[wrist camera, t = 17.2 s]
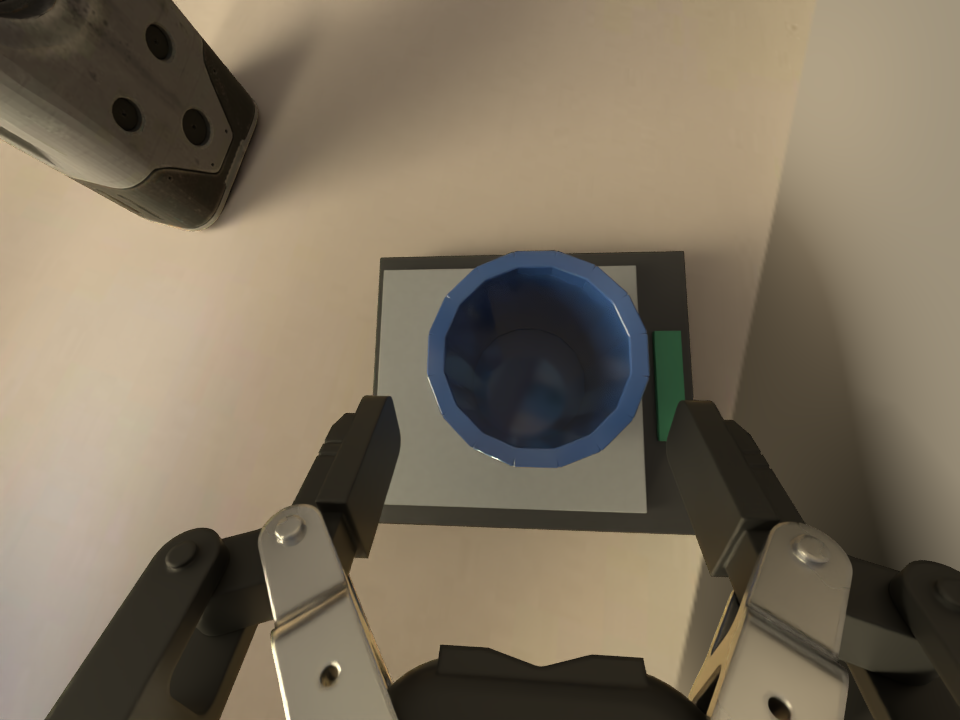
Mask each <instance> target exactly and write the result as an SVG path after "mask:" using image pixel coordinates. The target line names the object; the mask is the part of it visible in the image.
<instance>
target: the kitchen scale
mask: <svg viewBox="0 0 960 720" xmlns="http://www.w3.org/2000/svg"><path fill="white" fill-rule="evenodd" d="M568 255H570V256H573V257H576V258H579V259H581V260H584V261H587V262H590V263H592V264H595V265H596V266H598V267H599V268H600V269H601V270H603V271H604V272H605V273H606V274H607V275H608V276H609V277H610V278H612V279H613V280H614V281H615V282H616V283H617V284H618V285H619V286H621V287H622V288H623V289H624V290H625V291H626V292H627V293H628V295H629V296H630V297H631V299H632V302H633V304H634V306H635V308H636V310H637V312H638V314H639V316H640V318H641V320H642V322H643V324H644V326H645V328H646V330H647V333H646V334H648V347H649V368H650V376H649V381H648V384H647V386H646V389H645V391H644V394H643V397H642V399H641V402H640V404H639V407H638V410H637V412H636V415H635V417H634V418H633V420H632V422H631V423H630V424H629V425H628V426H627V427H626V428H625V429H624V430H623V431H622V432H621V433H620V434H619V435H618V436H617V437H616V438H615V439H614V440H613V441H612V442H611V443H610V444H609V445H608V446H607V447H606V448H605V449H604V450H601V451H600V452H599V453H597V454H594V455H592V456H589V457H587V458H584V459H581V460H579V461H576V462H574V463H571V464H569V465H566V466H564V467H558V468H523V467H514V466H509V465H507V464H505V463H503V462H500V461H498V460H496V459H494V458H491V457H489V456H487V455H485V454H483V453H480V452H478V451H476V450H474V449H473V447H472V448H471V447H470V446H469V445H468V444H467V443H466V442H465V441H464V440H463V439H462V438H461V437H460V436H459V435H458V433H457V432H456V431H455V430H454V429H453V428H452V427H451V426H450V425H449V424H448V423H447V422H446V421H445V420H444V418H443V417H442V416H443V415H441V413H440V411H439V408H438V405H437V403H436V400H435V397H434V395H433V392H432V389H431V387H430V384H429V381H428V378H427V376H428V375H427V350H428V335H429V331H430V328H431V326H432V324H433V322H434V320H435V317H436V315H437V313H438V311H439V308H440V306H441V304H442V302H443V300H444V298H445V297H446V295H447V294H448V293H449V292H450V291H451V290H452V289H453V288H454V287H455V286H456V285H457V284H458V283H459V282H460V281H461V280H462V279H463V278H465V277H466V276H467V275H468V274H469V273H470V272H471V271H472V270H473V269H474V268H476V267H477V266H480V265H482V264H484V263H487V262H489V261H492V260H494V259H497V258H499V257H501V256H504V255H481V256H435V257H389V258H381V259H380V276H379V294H378V312H377V330H376V349H375V367H374V385H373V396H391V397H392V399H393V403H394V407H395V412H396V416H397V420H398V425H399V429H400V434H401V447H400V453H399V456H398V460H397V463H396V466H395V470H394V473H393V476H392V480H391V483H390V486H389V490H388V493H387V496H386V500H385V503H384V506H383V510H382V513H381V516H380V520H379V523H388V524H414V525H440V526H466V527H493V528H519V529H545V530H572V531H598V532H624V533H650V534H677V535H695V532H694V530H693V527H692V524H691V522H690V519H689V516H688V514H687V511H686V508H685V506H684V503H683V500H682V498H681V495H680V492H679V489H678V487H677V484H676V481H675V479H674V476H673V473H672V471H671V468H670V465H669V463H668V459H667V454H666V441H667V437H668V434H669V431H670V427H671V424H672V421H673V418H674V414H675V411H676V408H677V405H678V403H679V402H680V401H681V400H693V385H692V369H691V354H690V338H689V322H688V307H687V291H686V275H685V260H684V251H666V252H619V253H573V254H568Z"/></svg>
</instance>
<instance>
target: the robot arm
mask: <svg viewBox="0 0 960 720" xmlns="http://www.w3.org/2000/svg"><path fill="white" fill-rule="evenodd" d="M400 447H401V434H400V429H399V425H398V420H397V416H396V412H395V407H394V403H393V399H392V397H391V396H364V397H363V398H362V400H361V402H360V404H359V406H358V408H357V410H356V413H345V414H344V415H343V416H342V417H341V418H340V419H339V420H338V421H337V422H336V423H335V424H334V425H333V426H332V427H331V429H330V431H329V433H328V435H327V437H326V439H325V444H323V445H322V447H321V449H320V451H319V456H317V457H316V459H315V461H314V463H313V465H312V467H311V469H310V471H309V473H308V475H307V477H306V479H305V481H304V483H303V485H302V487H301V489H300V491H299V493H298V495H297V497H296V499H295V501H294V502H293V504H292V505H291V506H289V507H287V508H284V509H282V510H281V511H279V512H277V513H276V514H275V515H273V516H272V517H271V518H270V519H269V520H268V521H267V522H266V524H265V525H264V527H263V528H261V529H258V530H255V531H251V532H247V533H243V534H239V535H235V536H231V537H228V538H224V539H221V538H220V537H219V535H218V534H217V533H216V532H215V531H214V530H212V529H209V528H196V529H192V530H189V531H186V532H184V533H182V534H179V535H178V536H176V537H174V538H173V539H171V540H170V541H169V542H167V543H166V544H165V545H164V546H163V547H162V548H161V549H160V550H159V551H158V552H157V553H156V555H155V556H154V557H153V559H152V560H151V562H150V563H149V565H148V566H147V568H146V569H145V571H144V572H143V574H142V575H141V577H140V578H139V580H138V581H137V583H136V584H135V586H134V587H133V589H132V590H131V592H130V593H129V595H128V596H127V597H126V599H125V600H124V602H123V603H122V605H121V606H120V608H119V609H118V611H117V612H116V614H115V615H114V617H113V618H112V620H111V621H110V623H109V624H108V626H107V627H106V629H105V630H104V632H103V633H102V635H101V636H100V638H99V639H98V641H97V642H96V644H95V645H94V647H93V648H92V650H91V651H90V653H89V654H88V656H87V657H86V659H85V660H84V662H83V663H82V665H81V666H80V668H79V669H78V671H77V672H76V674H75V675H74V677H73V678H72V680H71V681H70V682H69V684H68V685H67V687H66V688H65V690H64V691H63V693H62V694H61V696H60V697H59V699H58V700H57V702H56V703H55V705H54V706H53V708H52V709H51V711H50V712H49V714H48V715H47V717H46V718H45V720H219V719H220V717H221V714H222V712H223V709H224V707H225V705H226V702H227V700H228V697H229V695H230V692H231V690H232V687H233V685H234V682H235V680H236V677H237V675H238V672H239V670H240V668H241V665H242V663H243V660H244V658H245V655H246V653H247V650H248V648H249V645H250V643H251V640H252V638H253V635H254V633H255V631H256V628H257V626H258V624H260V623H263V622H266V621H270V620H273V619H274V622H275V629H273V630H272V631H271V645H272V651H273V656H274V661H275V666H276V671H277V675H278V680H279V685H280V690H281V695H282V700H283V705H284V710H285V715H286V720H844V714H845V706H846V700H847V693H848V685H849V677H848V672H847V670H846V668H845V667H843V666H842V665H840V664H839V661H838V659H840V660H843V661H845V662H846V663H847V665H848V667H849V669H850V671H851V673H852V675H853V677H854V680H855V682H856V684H857V686H858V688H859V690H860V692H861V694H862V696H863V698H864V700H865V702H866V704H867V706H868V708H869V710H870V712H871V714H872V716H873V718H874V720H960V572H959V571H957V570H955V569H953V568H951V567H948V566H946V565H943V564H940V563H936V562H932V561H925V560H924V561H923V560H919V561H913V562H911V563H909V564H908V565H907V566H906V567H905V568H904V569H903V570H902V571H897V570H894V569H891V568H887V567H884V566H881V565H877V564H874V563H871V562H868V561H864V560H861V559H858V558H855V557H852V556H849V555H847V554H846V553H845V552H844V550H843V549H842V548H841V547H840V546H839V545H838V544H837V543H836V542H835V541H834V540H833V539H831V538H830V537H829V536H828V535H826V534H824V533H823V532H821V531H820V530H818V529H816V528H814V527H811V526H809V525H806V524H805V523H804V521H803V519H802V518H801V516H800V514H799V513H798V511H797V509H796V508H795V506H794V505H793V503H792V501H791V500H790V498H789V497H788V495H787V493H786V492H785V490H784V488H783V487H782V485H781V484H780V482H779V480H778V479H777V477H776V475H775V474H774V472H773V471H772V469H769V464H768V463H767V461H766V459H765V458H764V456H763V455H761V454H760V452H761V451H760V450H759V448H758V446H757V445H756V443H755V442H754V440H753V438H752V437H751V435H750V434H749V433H747V432H746V431H745V430H744V429H743V428H742V427H741V426H739V425H738V424H737V423H736V422H735V421H733V420H724V419H723V418H722V416H721V414H720V412H719V411H718V409H717V407H716V405H715V404H714V403H713V402H712V401H699V400H681V401H680V402H679V403H678V405H677V408H676V411H675V414H674V418H673V421H672V424H671V427H670V431H669V434H668V437H667V441H666V454H667V459H668V463H669V465H670V468H671V471H672V473H673V476H674V479H675V481H676V484H677V487H678V489H679V492H680V495H681V498H682V500H683V503H684V506H685V508H686V511H687V514H688V516H689V519H690V522H691V524H692V527H693V530H694V532H695V535H696V538H697V540H698V543H699V546H700V549H701V551H702V554H703V557H704V559H705V562H706V565H707V567H708V570H709V573H710V575H711V576H714V577H729V579H730V581H731V584H732V587H733V591H732V592H731V594H730V596H729V599H728V602H727V604H726V607H725V610H724V612H723V615H722V617H721V620H720V623H719V625H718V628H717V630H716V633H715V636H714V638H713V641H712V643H711V646H710V649H709V652H708V654H707V656H706V659H705V661H704V664H703V666H702V668H701V670H700V672H699V674H698V676H697V678H696V680H695V682H694V684H693V686H692V688H691V691H690V693H689V695H688V698H686V697H685V696H684V695H683V694H682V693H680V692H679V691H677V690H676V689H674V688H673V687H671V686H670V685H668V684H667V683H665V682H663V681H661V680H659V679H657V678H655V677H653V676H651V675H648V674H646V670H645V665H644V660H643V658H636V657H620V656H605V655H588V656H584V657H580V658H576V659H572V660H568V661H564V662H560V663H556V664H552V665H548V666H542V667H541V666H535V665H532V664H530V663H527V662H525V661H522V660H519V659H517V658H514V657H511V656H509V655H506V654H503V653H501V652H498V651H496V650H493V649H490V648H484V647H468V646H453V645H440V651H439V658H438V659H436V660H432V661H429V662H427V663H424V664H422V665H419V666H418V667H416V668H414V669H412V670H411V671H409V672H407V673H406V674H405V675H403V676H402V677H401V678H399V679H398V680H397V681H396V682H395V683H394V684H393V683H392V680H391V678H390V675H389V673H388V670H387V668H386V665H385V663H384V660H383V658H382V656H381V653H380V651H379V649H378V646H377V644H376V641H375V639H374V636H373V634H372V631H371V629H370V626H369V624H368V621H367V619H366V616H365V613H364V611H363V608H362V606H361V603H360V601H359V598H358V596H357V593H356V590H355V588H354V585H353V583H352V580H351V578H350V575H349V571H350V568H351V565H352V562H353V559H354V558H368V556H369V553H370V550H371V546H372V543H373V540H374V536H375V533H376V530H377V526H378V523H379V520H380V516H381V513H382V510H383V506H384V503H385V500H386V496H387V493H388V490H389V486H390V483H391V480H392V476H393V473H394V470H395V466H396V463H397V460H398V456H399V453H400Z"/></svg>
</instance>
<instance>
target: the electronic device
mask: <svg viewBox="0 0 960 720" xmlns="http://www.w3.org/2000/svg"><path fill="white" fill-rule="evenodd" d="M257 119H258V108H257V105H256V103H255V102H254V100H253V99H252V98H251V97H250V96H249V94H248V93H247V92H246V91H245V89H244V88H243V87H242V86H241V84H240V83H239V82H238V81H237V80H236V78H235V77H234V76H233V75H232V73H231V72H230V71H229V70H228V69H227V67H226V66H225V65H224V64H223V62H222V61H221V60H220V59H219V57H218V56H217V55H216V54H215V53H214V51H213V50H212V49H211V48H210V46H209V45H208V44H207V43H206V42H205V40H204V39H203V38H202V37H201V35H200V34H199V33H198V32H197V31H196V29H195V28H194V27H193V26H192V24H191V23H190V22H189V21H188V19H187V18H186V17H185V16H184V15H183V13H182V12H181V11H180V10H179V8H178V7H177V6H176V5H175V4H174V2H173V1H172V0H0V140H2V141H4V142H6V143H8V144H10V145H11V146H13V147H15V148H17V149H19V150H21V151H22V152H24V153H26V154H28V155H30V156H31V157H33V158H35V159H37V160H39V161H40V162H42V163H44V164H46V165H48V166H50V167H51V168H53V169H55V170H57V171H59V172H60V173H62V174H64V175H66V176H68V177H69V178H71V179H73V180H75V181H77V182H79V183H80V184H82V185H84V186H86V187H88V188H89V189H91V190H93V191H95V192H97V193H98V194H100V195H102V196H104V197H106V198H107V199H109V200H111V201H113V202H115V203H117V204H118V205H120V206H122V207H124V208H126V209H127V210H129V211H131V212H133V213H135V214H137V215H138V216H140V217H142V218H144V219H146V220H148V221H151V222H155V223H159V224H162V225H166V226H170V227H174V228H178V229H182V230H186V231H201V230H203V229H206V228H208V227H209V226H211V225H212V224H213V223H214V222H215V221H216V220H217V218H218V217H219V215H220V213H221V212H222V210H223V207H224V205H225V202H226V200H227V197H228V195H229V192H230V190H231V187H232V185H233V182H234V180H235V177H236V174H237V172H238V169H239V167H240V164H241V162H242V159H243V157H244V154H245V152H246V149H247V147H248V144H249V142H250V139H251V136H252V134H253V131H254V129H255V126H256V123H257Z"/></svg>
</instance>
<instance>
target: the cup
mask: <svg viewBox="0 0 960 720" xmlns="http://www.w3.org/2000/svg"><path fill="white" fill-rule="evenodd" d="M646 333H647V330H646V328H645V326H644V324H643V322H642V320H641V318H640V316H639V314H638V312H637V310H636V308H635V306H634V304H633V302H632V299H631V297H630V296H629V295H628V293H627V292H626V291H625V290H624V289H623V288H622V287H621V286H619V285H618V284H617V283H616V282H615V281H614V280H613V279H612V278H610V277H609V276H608V275H607V274H606V273H605V272H604V271H603V270H601V269H600V268H599V267H598V266H596V265H595V264H592V263H590V262H587V261H584V260H581V259H579V258H576V257H573V256H570V255H568V254H565V253H562V252H559V251H554V250H550V251H515V252H511V253H509V254H506V255H504V256H501V257H499V258H497V259H494V260H492V261H489V262H487V263H484V264H482V265H480V266H477V267H476V268H474V269H473V270H472V271H471V272H470V273H469V274H468V275H467V276H466V277H465V278H463V279H462V280H461V281H460V282H459V283H458V284H457V285H456V286H455V287H454V288H453V289H452V290H451V291H450V292H449V293H448V294H447V295H446V297H445V298H444V300H443V302H442V304H441V306H440V308H439V311H438V313H437V315H436V317H435V320H434V322H433V324H432V326H431V328H430V331H429V335H428V350H427V375H428V376H427V378H428V381H429V384H430V387H431V389H432V392H433V395H434V397H435V400H436V403H437V405H438V408H439V411H440V413H441V415H443V416H442V417H443V418H444V420H445V421H446V422H447V423H448V424H449V425H450V426H451V427H452V428H453V429H454V430H455V431H456V432H457V433H458V435H459V436H460V437H461V438H462V439H463V440H464V441H465V442H466V443H467V444H468V445H469V446H470V447H471V448H472V447H473V449H474V450H476V451H478V452H480V453H483V454H485V455H487V456H489V457H491V458H494V459H496V460H498V461H500V462H503V463H505V464H507V465H509V466H514V467H523V468H558V467H564V466H566V465H569V464H571V463H574V462H576V461H579V460H581V459H584V458H587V457H589V456H592V455H594V454H597V453H599V452H600V451H601V450H604V449H605V448H606V447H607V446H608V445H609V444H610V443H611V442H612V441H613V440H614V439H615V438H616V437H617V436H618V435H619V434H620V433H621V432H622V431H623V430H624V429H625V428H626V427H627V426H628V425H629V424H630V423H631V422H632V420H633V418H634V417H635V415H636V412H637V410H638V407H639V404H640V402H641V399H642V397H643V394H644V391H645V389H646V386H647V384H648V381H649V376H650V368H649V347H648V334H646Z"/></svg>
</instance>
